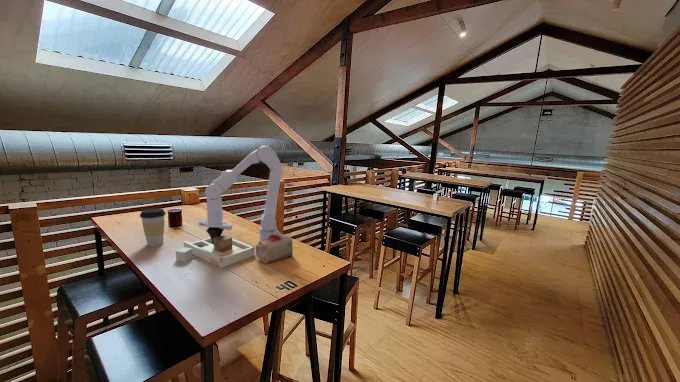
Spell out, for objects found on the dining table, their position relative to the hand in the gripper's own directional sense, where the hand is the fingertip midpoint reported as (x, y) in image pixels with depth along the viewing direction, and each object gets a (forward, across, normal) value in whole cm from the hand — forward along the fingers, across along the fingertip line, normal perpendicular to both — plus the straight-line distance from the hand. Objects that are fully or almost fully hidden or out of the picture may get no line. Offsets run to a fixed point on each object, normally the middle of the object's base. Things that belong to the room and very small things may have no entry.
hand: (216, 244), depth 122 cm
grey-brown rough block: (+3, -25, -3) cm, 26 cm away
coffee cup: (+3, +29, +2) cm, 29 cm away
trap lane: (+3, -2, 0) cm, 3 cm away
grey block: (+3, +6, +10) cm, 13 cm away
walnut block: (+1, -4, +1) cm, 5 cm away
